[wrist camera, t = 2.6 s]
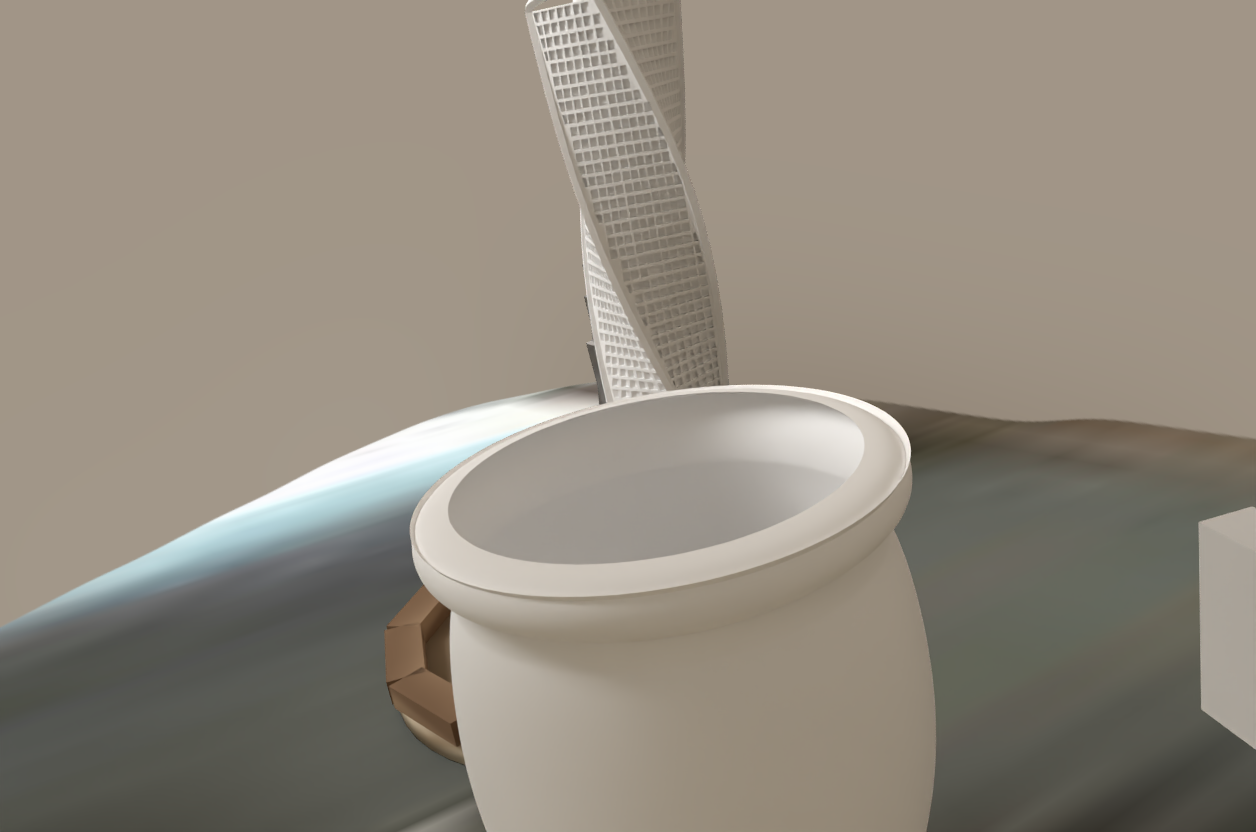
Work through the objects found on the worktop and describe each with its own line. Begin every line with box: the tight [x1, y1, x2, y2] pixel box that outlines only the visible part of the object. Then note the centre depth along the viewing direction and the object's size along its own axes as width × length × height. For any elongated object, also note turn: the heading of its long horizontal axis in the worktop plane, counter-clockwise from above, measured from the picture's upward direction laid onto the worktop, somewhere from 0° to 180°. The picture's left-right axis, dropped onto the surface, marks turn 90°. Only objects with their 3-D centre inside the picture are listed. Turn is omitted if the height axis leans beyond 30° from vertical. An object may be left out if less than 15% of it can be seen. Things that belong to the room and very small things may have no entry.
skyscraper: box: [525, 0, 729, 405], centre depth 55 cm, size 8×8×28 cm
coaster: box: [385, 585, 466, 765], centre depth 45 cm, size 17×17×2 cm
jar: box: [410, 385, 936, 832], centre depth 25 cm, size 11×10×15 cm
